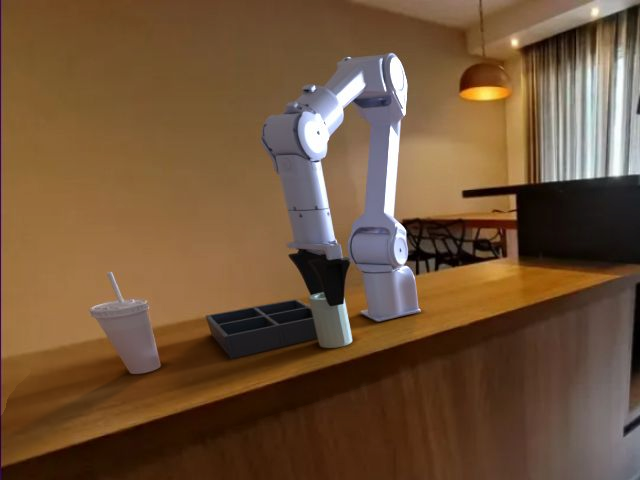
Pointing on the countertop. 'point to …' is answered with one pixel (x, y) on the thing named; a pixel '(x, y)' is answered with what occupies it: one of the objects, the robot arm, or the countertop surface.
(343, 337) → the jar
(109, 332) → the smoothie
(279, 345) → the tray
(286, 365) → the countertop surface
